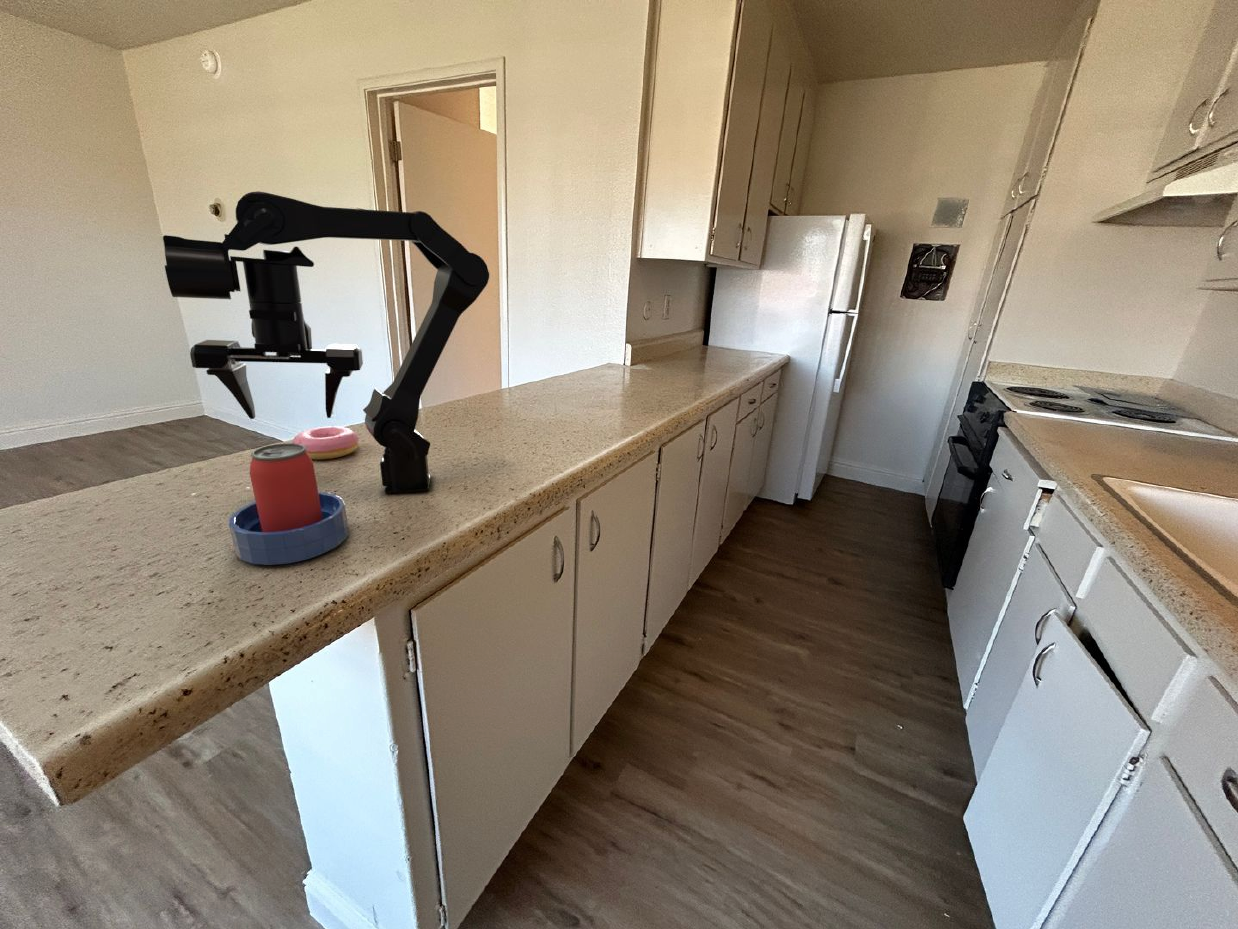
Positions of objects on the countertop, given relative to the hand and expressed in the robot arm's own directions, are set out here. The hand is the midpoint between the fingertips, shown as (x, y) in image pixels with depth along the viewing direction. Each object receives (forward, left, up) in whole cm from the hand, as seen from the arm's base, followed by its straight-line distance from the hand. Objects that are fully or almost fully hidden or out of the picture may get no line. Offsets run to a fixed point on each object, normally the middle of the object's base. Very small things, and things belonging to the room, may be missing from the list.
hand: (292, 417), depth 71 cm
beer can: (-2, +12, -13) cm, 18 cm away
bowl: (-2, +12, -13) cm, 18 cm away
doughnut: (+2, -24, -13) cm, 27 cm away
